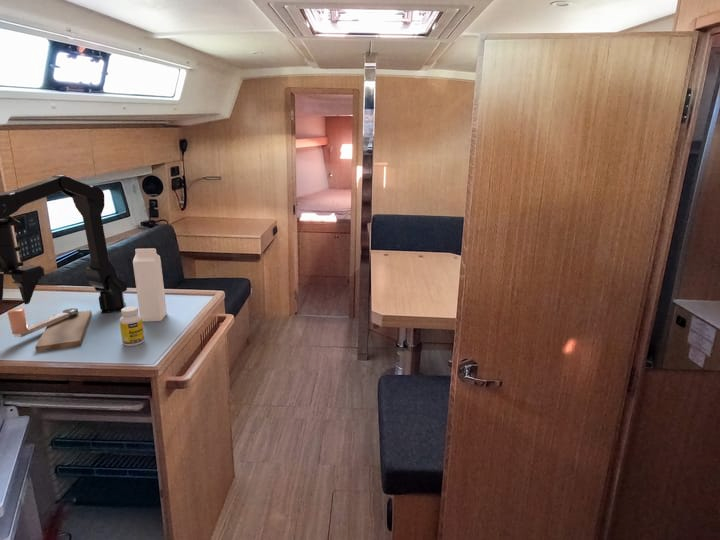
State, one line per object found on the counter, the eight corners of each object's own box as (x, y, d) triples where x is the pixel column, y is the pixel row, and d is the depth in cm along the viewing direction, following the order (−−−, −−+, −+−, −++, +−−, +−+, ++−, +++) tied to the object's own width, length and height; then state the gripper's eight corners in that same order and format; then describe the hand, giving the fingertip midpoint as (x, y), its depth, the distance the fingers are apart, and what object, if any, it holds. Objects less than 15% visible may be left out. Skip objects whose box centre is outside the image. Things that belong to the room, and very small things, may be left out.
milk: (161, 321, 139) (152, 250, 133) (140, 321, 139) (130, 251, 133) (167, 313, 145) (159, 246, 139) (147, 314, 145) (138, 246, 138)
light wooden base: (91, 314, 144) (91, 310, 144) (80, 345, 123) (79, 340, 122) (54, 319, 140) (53, 314, 140) (36, 352, 119) (35, 346, 119)
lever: (81, 312, 140) (77, 290, 138) (20, 339, 122) (15, 313, 120) (70, 311, 141) (66, 289, 139) (9, 337, 123) (3, 312, 121)
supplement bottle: (130, 348, 122) (125, 313, 119) (118, 343, 124) (113, 309, 122) (149, 341, 126) (144, 307, 123) (137, 336, 129) (132, 303, 126)
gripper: (-62, 249, 112) (-46, 309, 116) (-3, 254, 107) (11, 316, 112) (-15, 239, 122) (-3, 295, 127) (41, 244, 118) (51, 301, 122)
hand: (13, 302), depth 121 cm, fingers open, 9 cm apart
